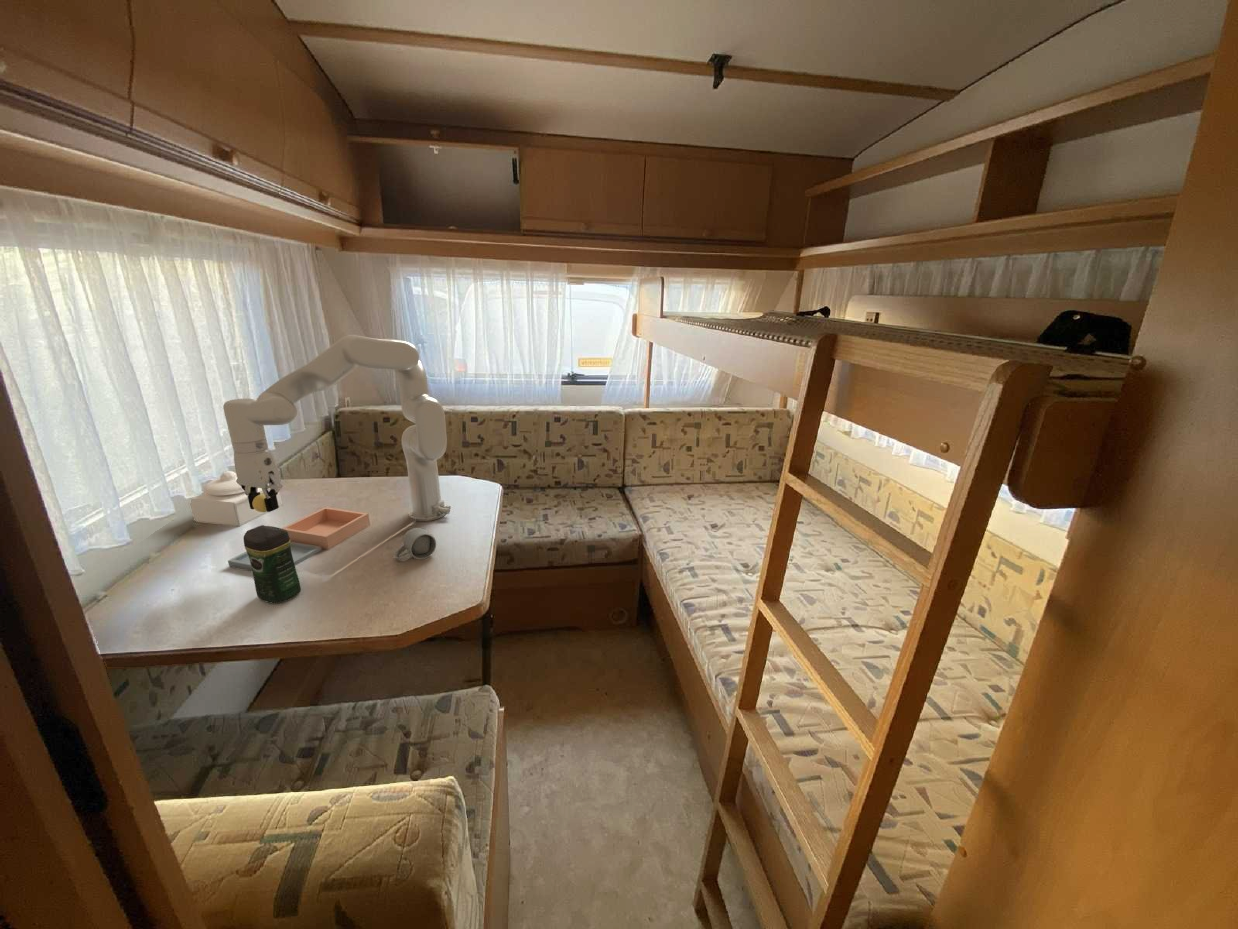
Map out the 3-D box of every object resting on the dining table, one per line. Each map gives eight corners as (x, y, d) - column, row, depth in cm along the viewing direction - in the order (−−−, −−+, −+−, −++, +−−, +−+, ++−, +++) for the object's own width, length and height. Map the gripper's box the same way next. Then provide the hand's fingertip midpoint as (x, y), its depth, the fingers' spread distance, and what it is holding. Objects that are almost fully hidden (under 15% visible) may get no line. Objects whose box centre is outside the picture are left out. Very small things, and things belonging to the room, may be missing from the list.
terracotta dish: (370, 527, 164) (368, 513, 163) (329, 551, 149) (326, 536, 147) (327, 520, 169) (325, 507, 167) (283, 543, 153) (280, 529, 152)
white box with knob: (240, 501, 183) (230, 460, 177) (283, 505, 180) (274, 464, 175) (194, 522, 166) (181, 477, 161) (241, 527, 164) (229, 481, 158)
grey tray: (322, 552, 148) (321, 546, 148) (280, 577, 136) (279, 570, 135) (274, 544, 153) (272, 538, 152) (229, 567, 140) (227, 560, 139)
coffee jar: (307, 591, 130) (293, 526, 124) (277, 608, 123) (261, 540, 117) (282, 582, 133) (267, 519, 127) (251, 598, 126) (234, 532, 120)
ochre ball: (280, 508, 141) (276, 492, 139) (264, 516, 136) (260, 499, 135) (266, 506, 142) (262, 490, 140) (250, 513, 138) (245, 497, 136)
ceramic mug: (426, 544, 154) (423, 521, 152) (438, 554, 149) (435, 531, 146) (391, 556, 148) (387, 533, 145) (402, 567, 142) (398, 543, 139)
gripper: (288, 445, 134) (301, 507, 140) (239, 439, 139) (253, 499, 144) (262, 453, 128) (277, 518, 133) (211, 446, 132) (227, 510, 138)
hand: (264, 508), depth 139 cm, fingers closed on ochre ball, 4 cm apart
